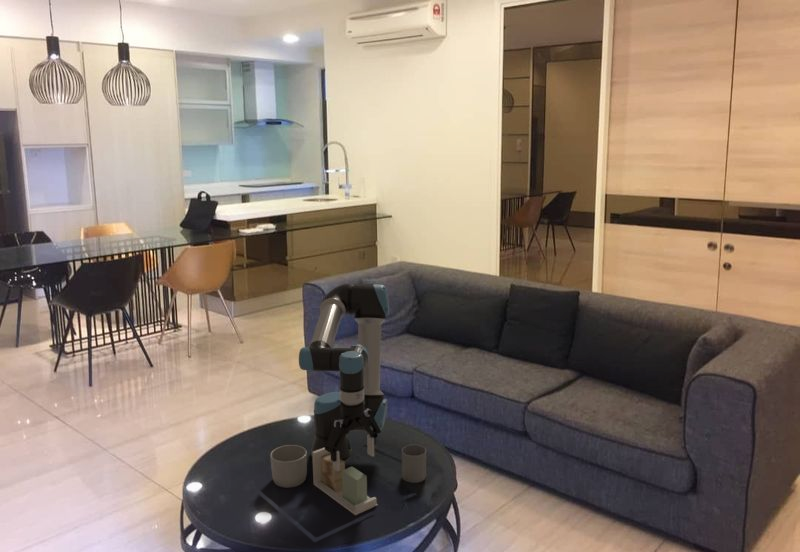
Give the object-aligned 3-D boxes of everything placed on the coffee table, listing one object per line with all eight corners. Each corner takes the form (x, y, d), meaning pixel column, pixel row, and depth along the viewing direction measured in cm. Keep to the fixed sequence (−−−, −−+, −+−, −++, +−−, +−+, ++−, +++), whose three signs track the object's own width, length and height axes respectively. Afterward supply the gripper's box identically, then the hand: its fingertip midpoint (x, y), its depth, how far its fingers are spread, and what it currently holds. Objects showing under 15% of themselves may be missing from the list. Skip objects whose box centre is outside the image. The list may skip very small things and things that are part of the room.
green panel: (342, 498, 214) (341, 470, 212) (352, 493, 217) (351, 466, 214) (357, 508, 208) (356, 480, 206) (367, 504, 211) (366, 476, 208)
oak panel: (322, 483, 223) (321, 456, 221) (331, 479, 226) (331, 452, 223) (335, 493, 217) (334, 465, 215) (345, 489, 220) (344, 461, 217)
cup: (423, 483, 224) (423, 457, 222) (400, 481, 226) (399, 455, 224) (427, 471, 233) (427, 445, 230) (404, 469, 234) (404, 443, 232)
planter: (291, 495, 218) (290, 465, 215) (264, 485, 224) (262, 456, 222) (315, 479, 228) (314, 450, 226) (288, 469, 234) (287, 441, 232)
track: (313, 486, 223) (312, 451, 220) (335, 477, 229) (334, 443, 226) (355, 518, 205) (354, 480, 202) (378, 507, 211) (377, 470, 208)
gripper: (325, 416, 194) (328, 480, 199) (390, 393, 210) (391, 453, 215) (312, 408, 200) (314, 470, 205) (376, 386, 215) (377, 444, 220)
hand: (354, 462), depth 210 cm, fingers open, 13 cm apart
